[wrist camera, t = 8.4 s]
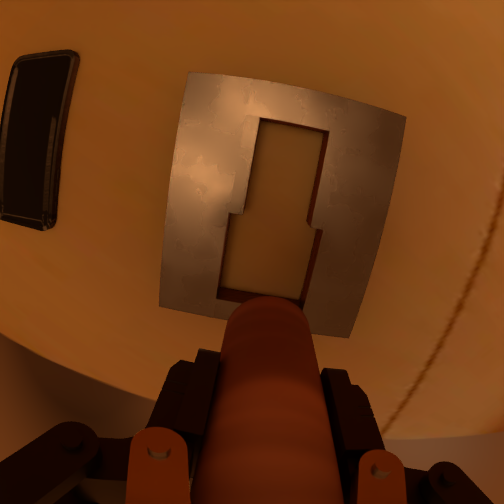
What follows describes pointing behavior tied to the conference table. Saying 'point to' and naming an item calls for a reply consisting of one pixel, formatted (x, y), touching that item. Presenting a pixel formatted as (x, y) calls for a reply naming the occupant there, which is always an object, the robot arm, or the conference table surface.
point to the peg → (267, 415)
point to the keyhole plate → (236, 187)
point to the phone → (35, 136)
